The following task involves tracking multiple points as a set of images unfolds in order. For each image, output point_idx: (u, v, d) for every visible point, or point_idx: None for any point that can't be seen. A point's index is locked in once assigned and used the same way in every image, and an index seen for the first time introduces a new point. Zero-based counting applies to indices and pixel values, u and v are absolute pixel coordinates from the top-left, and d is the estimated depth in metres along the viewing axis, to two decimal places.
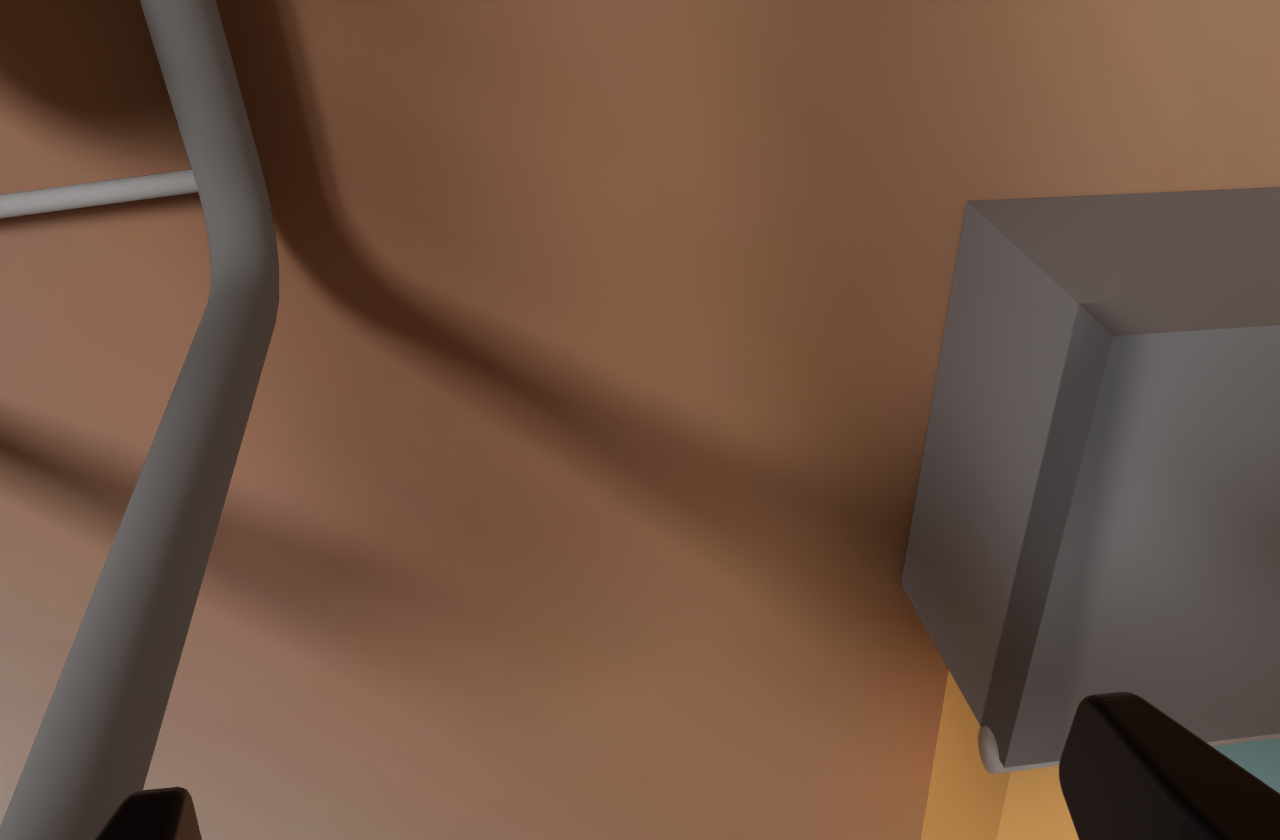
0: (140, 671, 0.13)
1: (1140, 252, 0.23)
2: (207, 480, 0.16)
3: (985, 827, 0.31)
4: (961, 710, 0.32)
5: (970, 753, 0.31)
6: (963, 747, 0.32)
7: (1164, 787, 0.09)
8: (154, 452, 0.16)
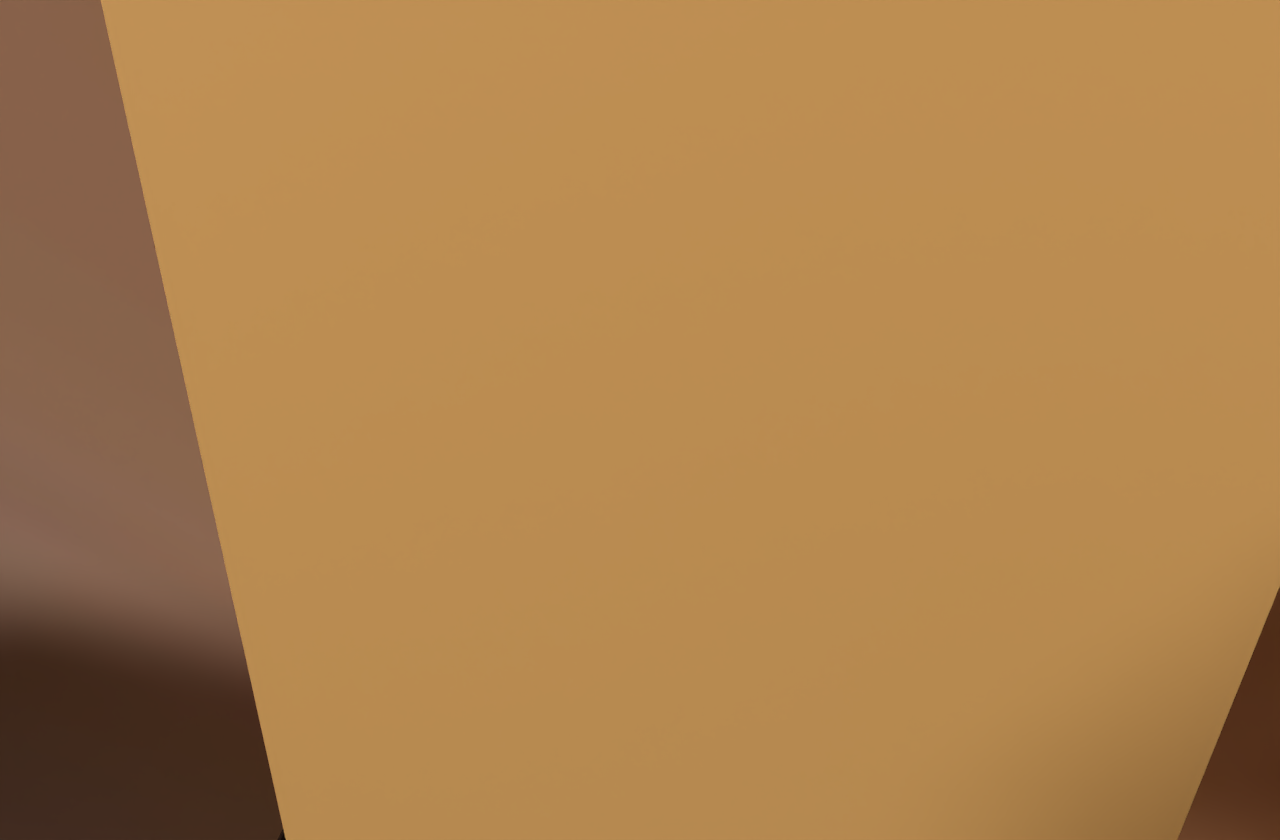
0: None
1: None
2: None
3: None
4: None
5: None
6: None
7: None
8: None
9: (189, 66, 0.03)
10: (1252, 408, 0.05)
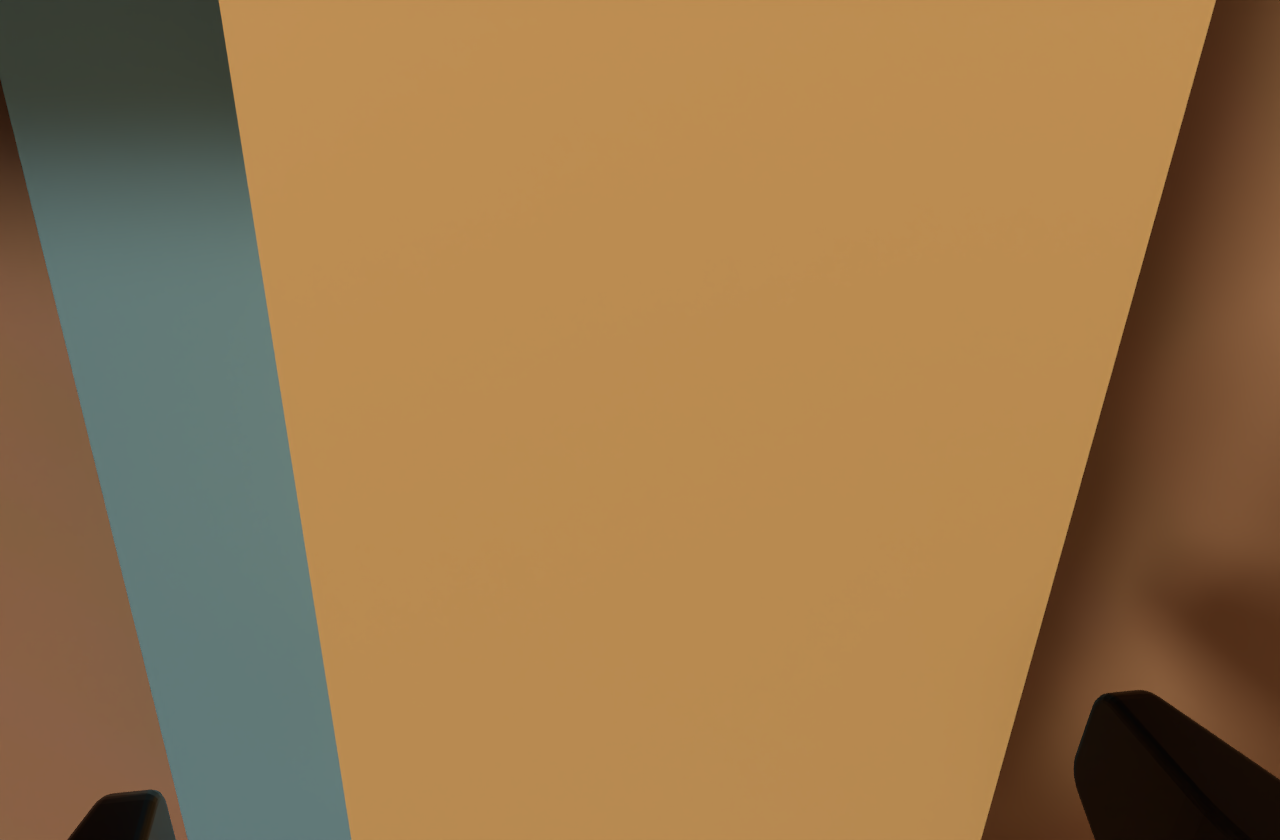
0: None
1: None
2: None
3: None
4: None
5: None
6: None
7: (1181, 785, 0.09)
8: None
9: None
10: (1066, 251, 0.06)
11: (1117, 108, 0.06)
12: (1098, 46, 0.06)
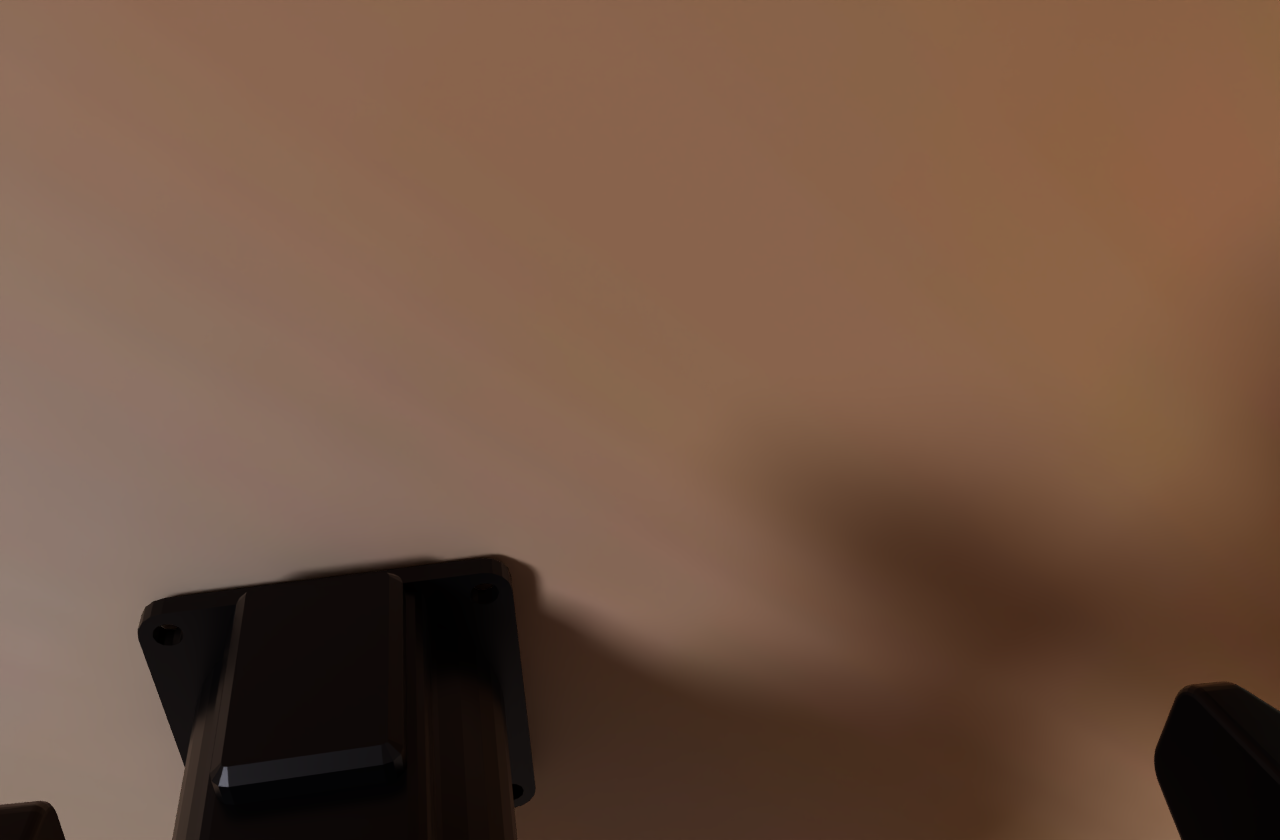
0: None
1: None
2: None
3: None
4: None
5: None
6: None
7: (1274, 775, 0.09)
8: None
9: None
10: None
11: None
12: None
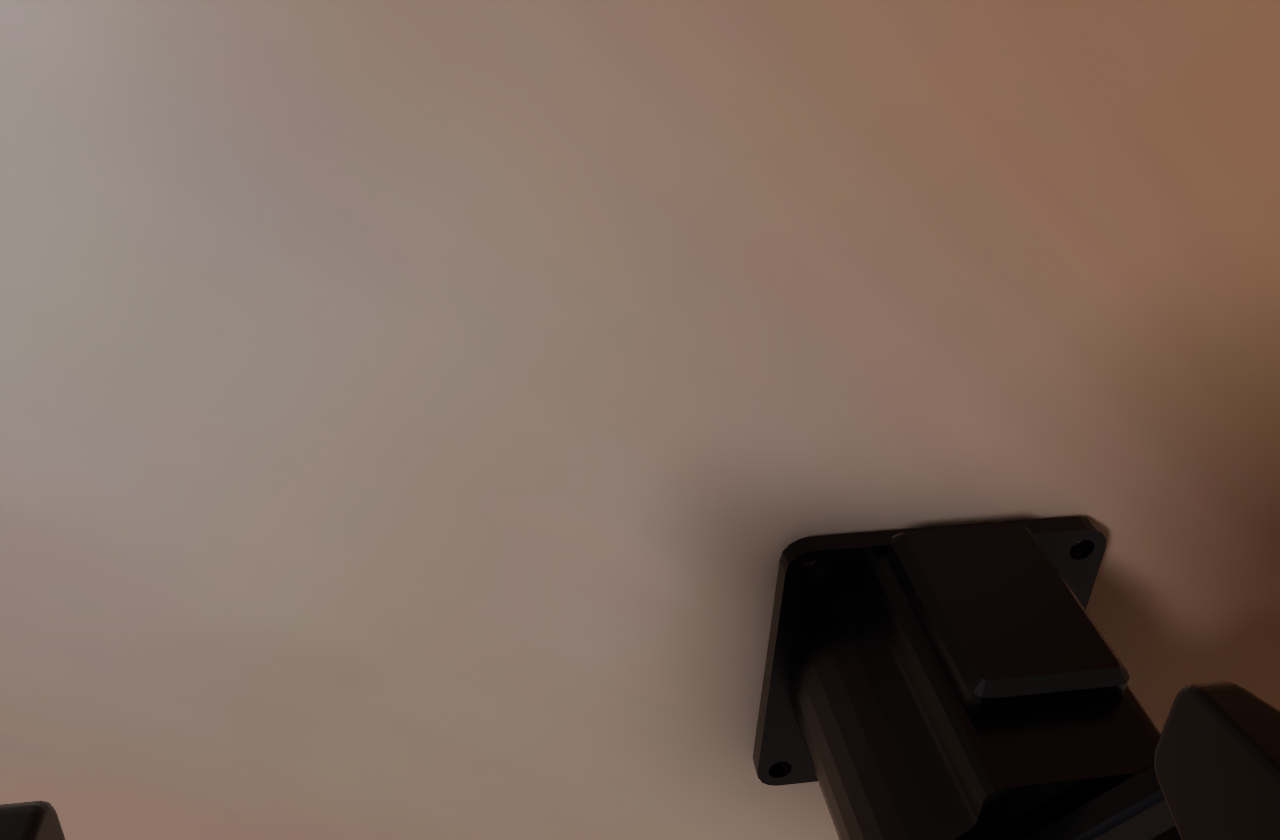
0: None
1: None
2: None
3: None
4: None
5: None
6: None
7: (1274, 775, 0.09)
8: None
9: None
10: None
11: None
12: None
